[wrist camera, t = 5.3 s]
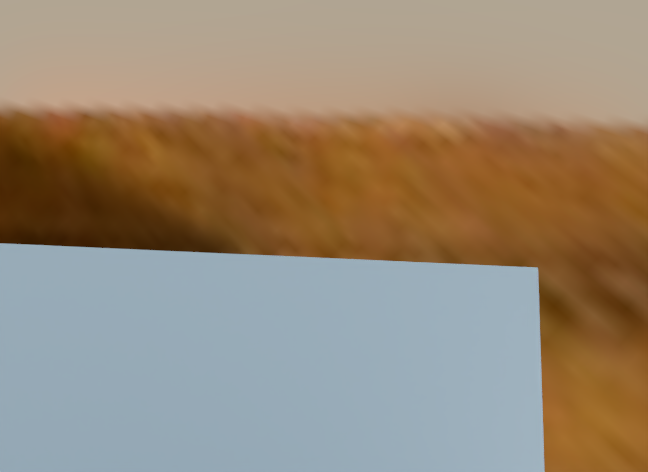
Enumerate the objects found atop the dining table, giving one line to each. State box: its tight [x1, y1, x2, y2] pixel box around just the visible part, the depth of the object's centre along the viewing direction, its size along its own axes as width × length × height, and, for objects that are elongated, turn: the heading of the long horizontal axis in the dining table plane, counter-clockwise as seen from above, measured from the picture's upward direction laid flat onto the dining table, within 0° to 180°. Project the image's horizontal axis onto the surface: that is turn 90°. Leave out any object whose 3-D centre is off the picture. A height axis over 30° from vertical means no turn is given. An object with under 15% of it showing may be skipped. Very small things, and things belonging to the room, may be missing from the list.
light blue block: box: [0, 243, 545, 472], centre depth 10 cm, size 5×4×12 cm
